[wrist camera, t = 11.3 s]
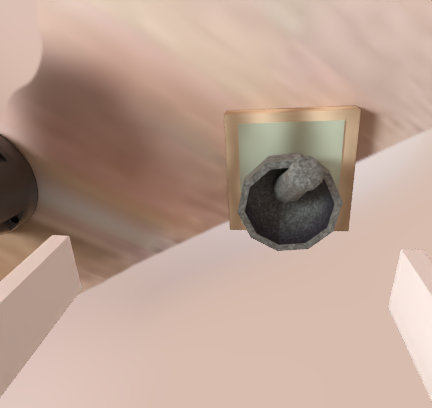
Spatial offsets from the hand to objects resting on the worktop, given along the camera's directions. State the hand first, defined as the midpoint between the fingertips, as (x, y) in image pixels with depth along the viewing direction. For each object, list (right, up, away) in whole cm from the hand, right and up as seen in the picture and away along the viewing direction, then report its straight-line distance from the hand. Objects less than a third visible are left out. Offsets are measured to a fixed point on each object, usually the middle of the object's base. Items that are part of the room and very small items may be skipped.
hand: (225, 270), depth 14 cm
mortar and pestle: (+8, +6, +25) cm, 27 cm away
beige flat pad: (+8, +7, +27) cm, 29 cm away
